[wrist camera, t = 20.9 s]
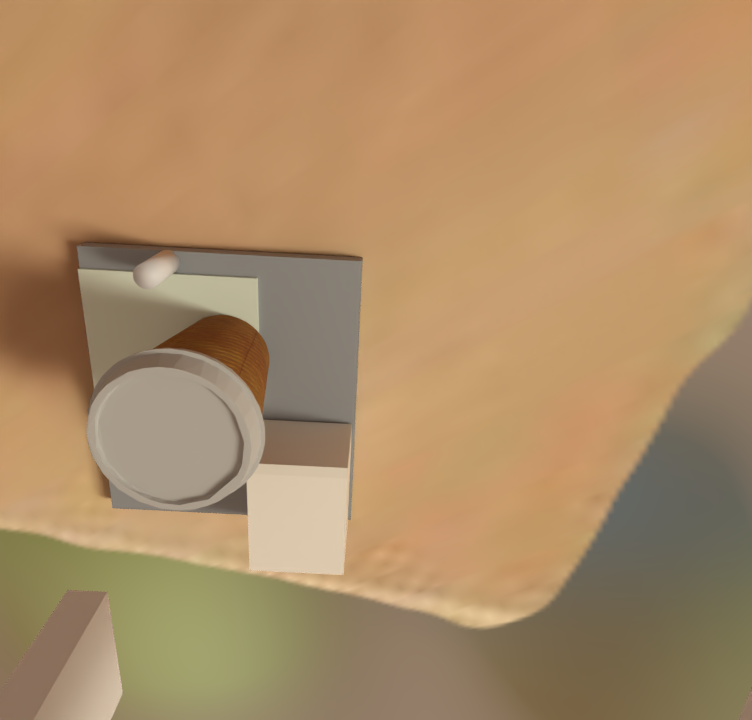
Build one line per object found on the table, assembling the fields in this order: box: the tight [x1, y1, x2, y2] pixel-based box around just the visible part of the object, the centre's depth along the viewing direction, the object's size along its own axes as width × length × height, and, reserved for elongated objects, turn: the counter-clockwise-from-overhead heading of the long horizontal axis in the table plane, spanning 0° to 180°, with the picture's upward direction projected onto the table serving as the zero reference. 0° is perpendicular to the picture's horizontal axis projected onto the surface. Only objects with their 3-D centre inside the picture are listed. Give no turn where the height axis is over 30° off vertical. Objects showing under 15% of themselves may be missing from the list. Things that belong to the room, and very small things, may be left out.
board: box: [77, 242, 362, 520], centre depth 42 cm, size 21×19×5 cm
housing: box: [247, 420, 352, 575], centre depth 43 cm, size 9×7×6 cm
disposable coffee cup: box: [87, 315, 270, 510], centre depth 37 cm, size 10×10×12 cm
